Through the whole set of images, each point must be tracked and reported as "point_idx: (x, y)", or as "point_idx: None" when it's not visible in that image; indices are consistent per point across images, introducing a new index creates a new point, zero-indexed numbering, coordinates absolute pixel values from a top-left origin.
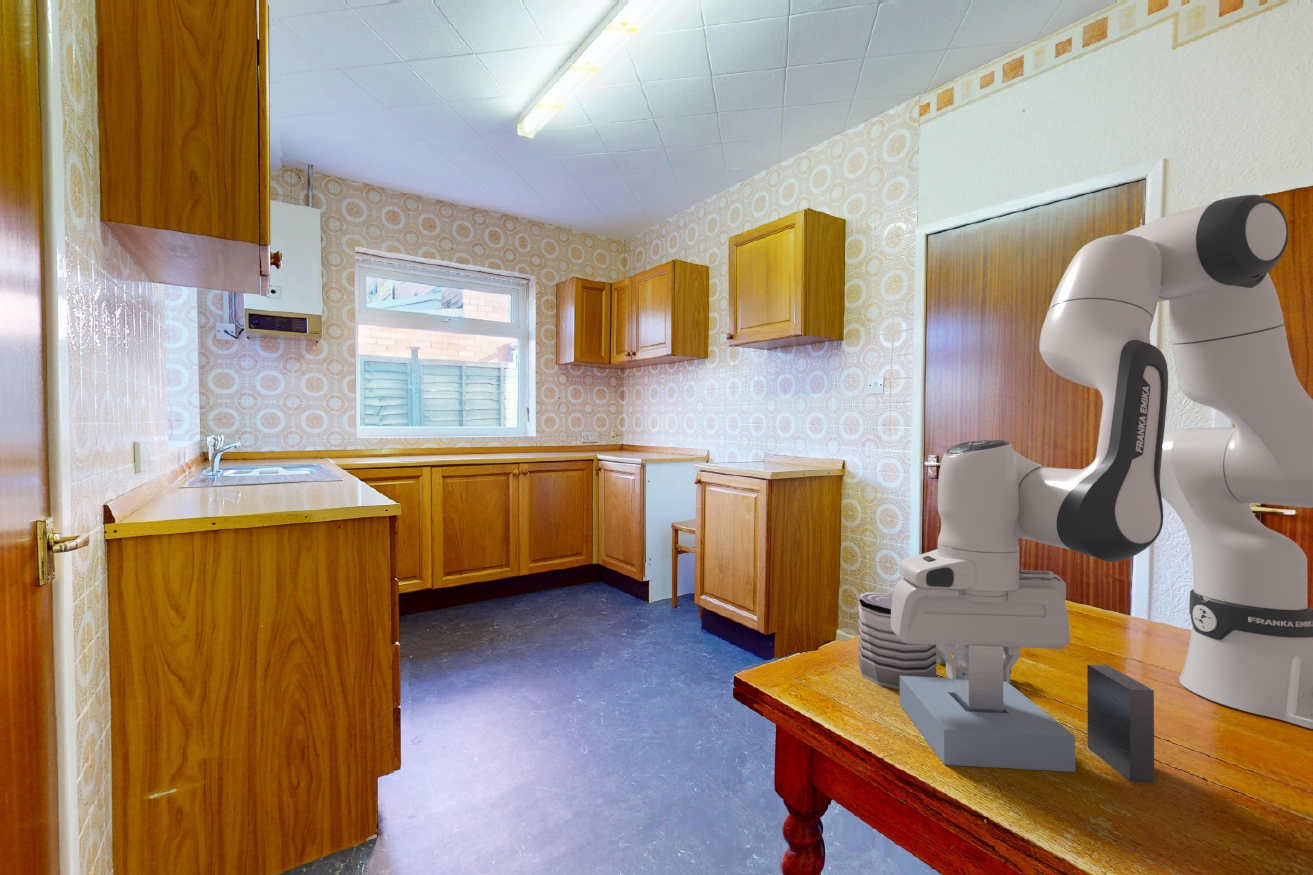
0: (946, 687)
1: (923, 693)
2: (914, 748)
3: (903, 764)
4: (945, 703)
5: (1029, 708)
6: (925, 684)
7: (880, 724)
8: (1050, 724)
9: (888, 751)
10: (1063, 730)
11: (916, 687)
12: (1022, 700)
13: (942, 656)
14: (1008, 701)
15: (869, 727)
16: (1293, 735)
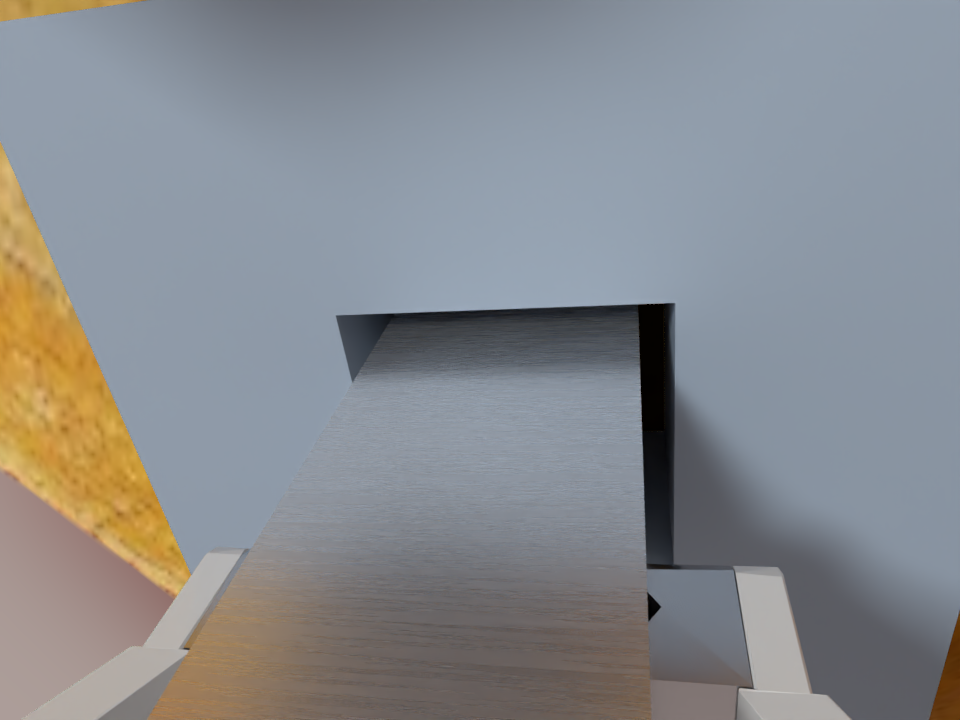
0: (344, 223)
1: (159, 355)
2: None
3: (166, 565)
4: (289, 479)
5: (886, 503)
6: (176, 188)
7: (50, 295)
8: (867, 664)
9: (110, 499)
10: (896, 712)
11: (109, 262)
12: (934, 389)
13: (78, 688)
14: (785, 411)
15: (7, 331)
16: None
